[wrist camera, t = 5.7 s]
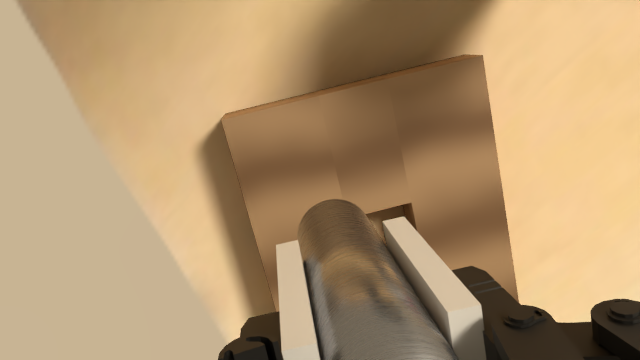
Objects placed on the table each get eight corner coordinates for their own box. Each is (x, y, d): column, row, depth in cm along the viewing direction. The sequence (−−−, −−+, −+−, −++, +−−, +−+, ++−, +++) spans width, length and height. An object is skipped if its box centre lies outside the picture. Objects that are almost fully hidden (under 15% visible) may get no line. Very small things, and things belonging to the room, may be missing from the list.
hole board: (225, 113, 33) (221, 120, 30) (464, 54, 34) (482, 55, 31) (299, 374, 39) (302, 401, 36) (505, 320, 39) (524, 342, 36)
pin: (289, 208, 20) (321, 407, 9) (363, 191, 20) (492, 364, 9) (305, 277, 21) (355, 546, 9) (377, 260, 21) (512, 504, 10)
